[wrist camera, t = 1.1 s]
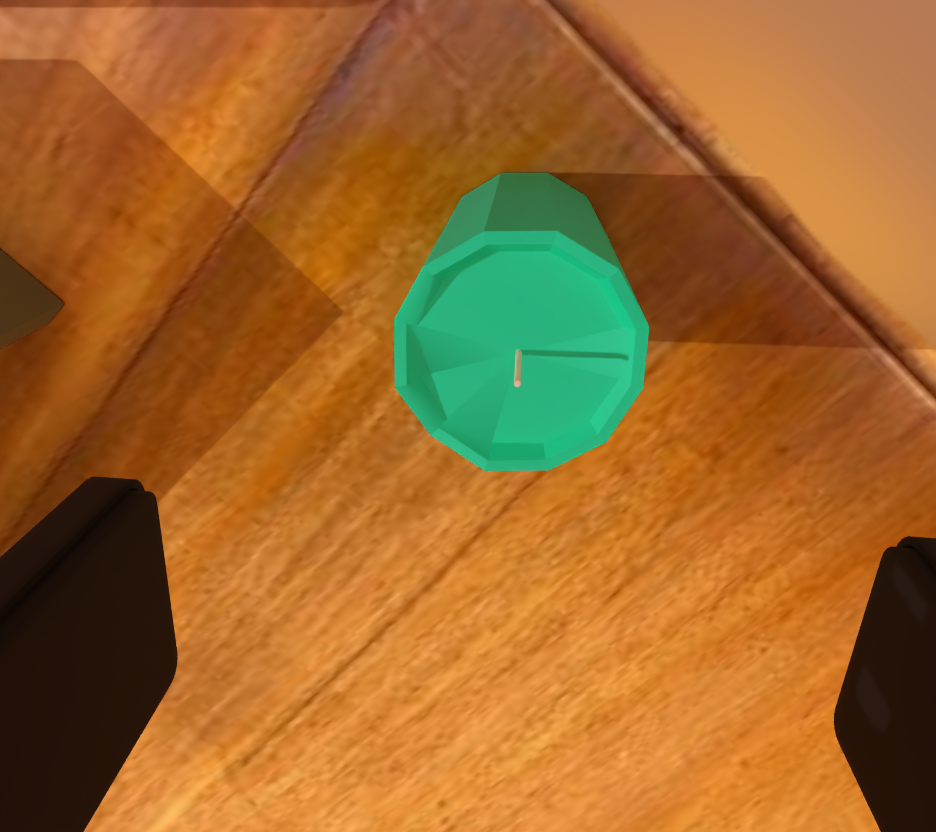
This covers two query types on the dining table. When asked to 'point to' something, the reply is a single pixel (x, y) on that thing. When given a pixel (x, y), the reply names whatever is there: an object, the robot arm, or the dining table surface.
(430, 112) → the dining table surface
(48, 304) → the shelf
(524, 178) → the candle
